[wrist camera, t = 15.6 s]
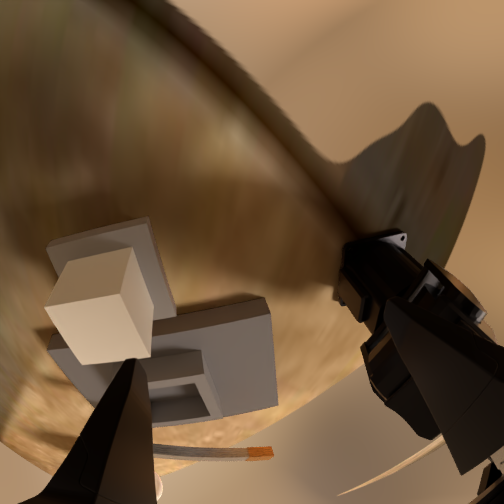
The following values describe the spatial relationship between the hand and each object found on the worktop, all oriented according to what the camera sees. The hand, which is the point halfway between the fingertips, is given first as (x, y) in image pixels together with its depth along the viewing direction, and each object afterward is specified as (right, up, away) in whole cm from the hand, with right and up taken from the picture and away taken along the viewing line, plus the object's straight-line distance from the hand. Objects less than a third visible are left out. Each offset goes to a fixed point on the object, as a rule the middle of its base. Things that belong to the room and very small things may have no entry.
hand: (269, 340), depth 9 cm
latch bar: (-7, -17, +16) cm, 25 cm away
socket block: (-9, -8, +17) cm, 21 cm away
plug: (-10, +3, +10) cm, 14 cm away
